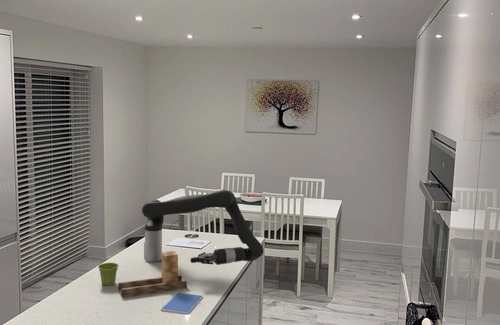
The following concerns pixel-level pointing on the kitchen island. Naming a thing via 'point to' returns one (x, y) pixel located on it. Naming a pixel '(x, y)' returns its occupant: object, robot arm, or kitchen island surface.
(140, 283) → the chute
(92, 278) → the kitchen island surface
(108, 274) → the plant pot
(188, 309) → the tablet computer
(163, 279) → the block
